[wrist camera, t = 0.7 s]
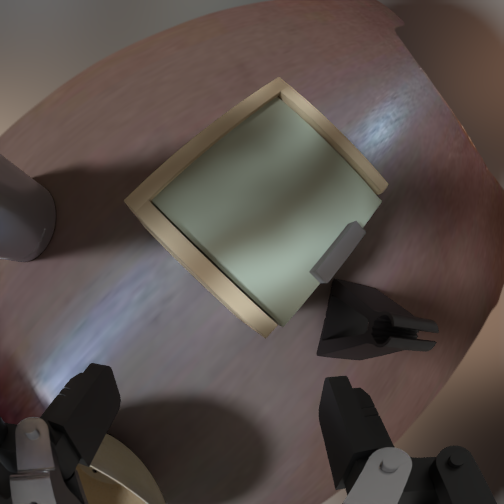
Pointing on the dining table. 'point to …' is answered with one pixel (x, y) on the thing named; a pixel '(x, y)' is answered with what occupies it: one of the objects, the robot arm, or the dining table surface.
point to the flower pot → (118, 477)
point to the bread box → (262, 205)
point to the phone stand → (380, 324)
